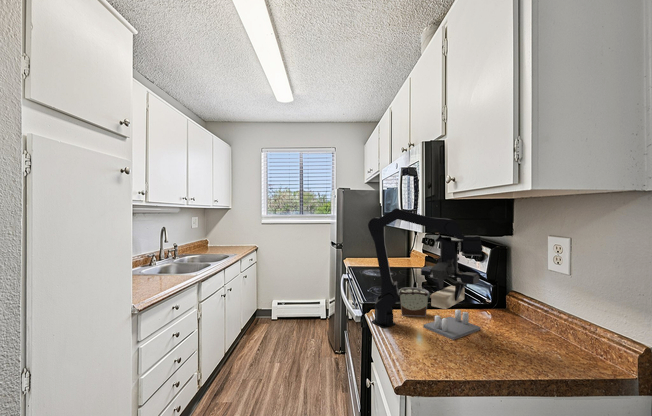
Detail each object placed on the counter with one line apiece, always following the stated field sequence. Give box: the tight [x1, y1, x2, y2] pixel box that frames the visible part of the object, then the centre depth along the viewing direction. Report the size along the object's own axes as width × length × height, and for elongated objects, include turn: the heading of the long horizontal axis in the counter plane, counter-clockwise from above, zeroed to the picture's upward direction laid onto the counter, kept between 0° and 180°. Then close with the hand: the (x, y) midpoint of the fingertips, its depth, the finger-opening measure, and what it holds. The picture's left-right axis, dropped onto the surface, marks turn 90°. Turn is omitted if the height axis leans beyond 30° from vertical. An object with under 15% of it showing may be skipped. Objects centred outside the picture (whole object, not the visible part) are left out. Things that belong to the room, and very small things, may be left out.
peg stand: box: [422, 309, 482, 341], centre depth 108 cm, size 12×16×5 cm
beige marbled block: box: [430, 285, 465, 310], centre depth 106 cm, size 16×5×4 cm, turn 135°
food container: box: [399, 286, 431, 317], centre depth 123 cm, size 12×6×10 cm, turn 84°
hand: (448, 298), depth 106 cm, fingers closed on beige marbled block, 5 cm apart
